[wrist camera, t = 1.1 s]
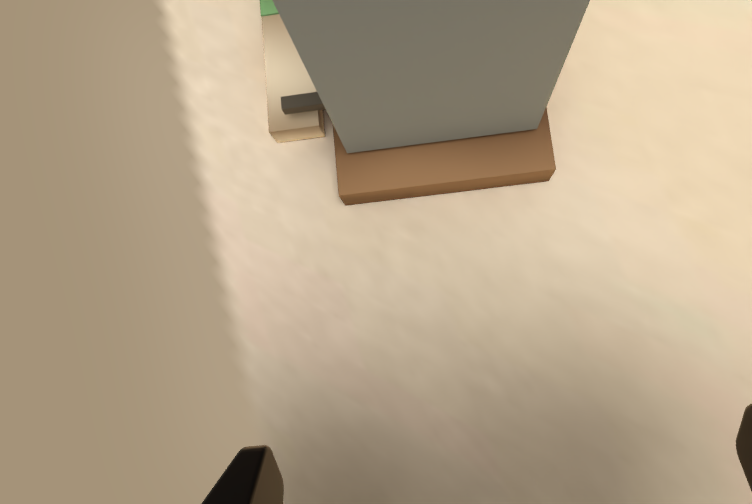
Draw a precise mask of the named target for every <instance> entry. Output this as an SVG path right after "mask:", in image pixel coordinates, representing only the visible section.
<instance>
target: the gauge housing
mask: <svg viewBox="0 0 752 504" xmlns="http://www.w3.org/2000/svg"><path fill="white" fill-rule="evenodd" d="M260 9H261V16H262V30H263V45H264V61H265V77H266V92H267V108H268V123H269V133H270V134H271V135H272V136H273V138H274V139H275V140H276V142H277V143H279V142H287V141H295V140H302V139H310V138H317V137H325V131H324V119H323V110H316V111H309V112H301V113H294V114H287V115H285V114H284V112H283V111H282V109H281V97H283V96H290V95H297V94H304V93H312V92H317V91H316V88H315V86H314V84H313V82H312V80H311V78H310V76H309V74H308V72H307V70H306V68H305V66H304V64H303V62H302V60H301V58H300V56H299V54H298V52H297V50H296V48H295V45H294V43H293V41H292V39H291V37H290V35H289V33H288V31H287V29H286V27H285V25H284V23H283V21H282V19H281V17H280V15H279V13H278V11H277V9H276V7H275V5H274V2H273V0H260ZM333 132H334V144H335V156H336V167H337V179H338V191H339V197H340V198H341V200H342V201H343V202H344V204H345V205H353V204H361V203H369V202H378V201H386V200H394V199H403V198H411V197H419V196H428V195H436V194H444V193H452V192H461V191H469V190H477V189H486V188H494V187H502V186H511V185H519V184H527V183H535V182H544V181H549V180H550V178H551V176H552V175H553V173H554V171H555V170H556V167H555V161H554V154H553V148H552V141H551V135H550V128H549V122H548V115H547V108H545V111H544V113H543V116H542V118H541V121H540V123H539V125H538V128H537V129H533V130H525V131H517V132H509V133H501V134H494V135H486V136H478V137H470V138H463V139H455V140H447V141H439V142H432V143H424V144H416V145H408V146H401V147H393V148H385V149H377V150H370V151H362V152H354V153H347V152H346V150H345V148H344V146H343V144H342V142H341V140H340V138H339V136H338V134H337V131H336V129H335V127H334V125H333Z"/></svg>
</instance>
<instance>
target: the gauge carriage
mask: <svg viewBox="0 0 752 504" xmlns="http://www.w3.org/2000/svg"><path fill="white" fill-rule="evenodd" d="M589 1H590V0H273V2H274V5H275V7H276V9H277V11H278V13H279V15H280V17H281V19H282V21H283V23H284V25H285V27H286V29H287V31H288V33H289V35H290V37H291V39H292V41H293V43H294V45H295V48H296V50H297V52H298V54H299V56H300V58H301V60H302V62H303V64H304V66H305V68H306V70H307V72H308V74H309V76H310V78H311V80H312V82H313V84H314V86H315V88H316V91H317V92H312V93H304V94H297V95H290V96H283V97H281V109H282V111H283V112H284V114H285V115H287V114H294V113H301V112H309V111H316V110H323V109H326V111H327V113H328V115H329V117H330V119H331V121H332V123H333V125H334V127H335V129H336V131H337V134H338V136H339V138H340V140H341V142H342V144H343V146H344V148H345V150H346V152H347V153H354V152H362V151H370V150H377V149H385V148H393V147H401V146H408V145H416V144H424V143H432V142H439V141H447V140H455V139H463V138H470V137H478V136H486V135H494V134H501V133H509V132H517V131H525V130H533V129H537V128H538V125H539V123H540V121H541V118H542V116H543V113H544V111H545V108H546V106H547V104H548V101H549V99H550V96H551V94H552V91H553V89H554V86H555V84H556V82H557V79H558V77H559V74H560V72H561V69H562V67H563V64H564V62H565V60H566V57H567V55H568V52H569V50H570V47H571V45H572V43H573V40H574V38H575V35H576V33H577V30H578V28H579V25H580V23H581V21H582V18H583V16H584V13H585V11H586V8H587V6H588V4H589Z"/></svg>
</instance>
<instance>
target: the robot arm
mask: <svg viewBox="0 0 752 504" xmlns="http://www.w3.org/2000/svg"><path fill="white" fill-rule="evenodd" d="M736 450H737V454H738V457H739V460H740V463H741V465H742V468H743V470H744V473H745V476H746V478H747V481H748V483H749V486H750V488H751V491H752V404H750V405H749V406H747V407H746V409H745V412H744V415H743V418H742V421H741V425H740V428H739V431H738V435H737V438H736ZM283 492H284V489H283V479H282V476H281V473H280V471H279V468H278V465H277V463H276V460H275V458H274V455H273V453H272V450H271V449H270V448H269V447H268V446H267V445H261V446H249V447H244V448H243V449H241V450H240V451H239V452H238V453H237V455H236V456H235V458H234V459H233V461H232V462H231V463H230V465H229V466H228V467H227V469H226V470H225V472H224V473H223V474H222V476H221V477H220V479H219V480H218V481H217V483H216V484H215V486H214V487H213V488H212V490H211V491H210V493H209V494H208V495H207V497H206V498H205V500H204V501H203V502H202V504H283Z"/></svg>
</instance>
